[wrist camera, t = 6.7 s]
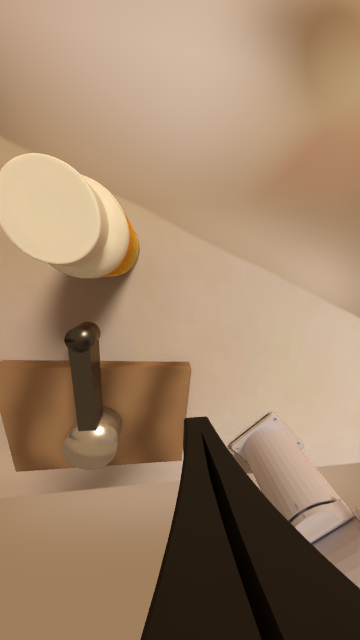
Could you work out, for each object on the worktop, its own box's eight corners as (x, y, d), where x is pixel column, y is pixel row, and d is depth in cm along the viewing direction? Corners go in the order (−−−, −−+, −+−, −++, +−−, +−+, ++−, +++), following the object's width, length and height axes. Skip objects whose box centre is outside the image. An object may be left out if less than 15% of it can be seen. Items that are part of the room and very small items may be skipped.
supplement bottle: (89, 278, 16) (-1, 285, 7) (75, 216, 15) (-61, 127, 6) (144, 273, 17) (125, 276, 8) (136, 213, 15) (102, 127, 6)
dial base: (189, 362, 20) (191, 369, 19) (180, 449, 24) (181, 462, 22) (2, 360, 18) (-14, 369, 16) (25, 458, 21) (14, 473, 20)
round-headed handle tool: (123, 439, 20) (116, 467, 17) (78, 442, 19) (64, 471, 17) (119, 319, 16) (111, 330, 13) (63, 317, 15) (41, 328, 13)
